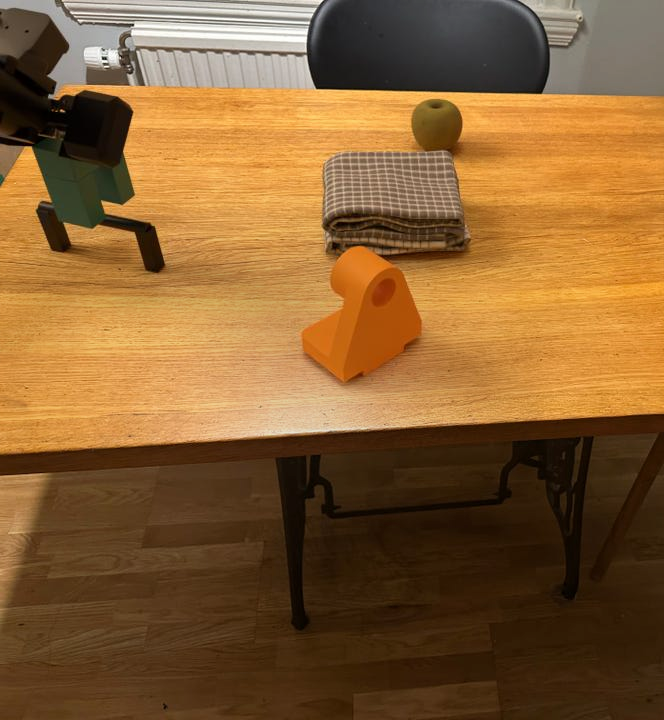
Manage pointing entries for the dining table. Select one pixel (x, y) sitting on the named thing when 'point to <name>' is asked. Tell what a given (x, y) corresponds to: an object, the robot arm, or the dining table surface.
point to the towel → (392, 203)
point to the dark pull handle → (142, 230)
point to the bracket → (364, 316)
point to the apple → (436, 124)
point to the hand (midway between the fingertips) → (89, 147)
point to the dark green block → (81, 184)
